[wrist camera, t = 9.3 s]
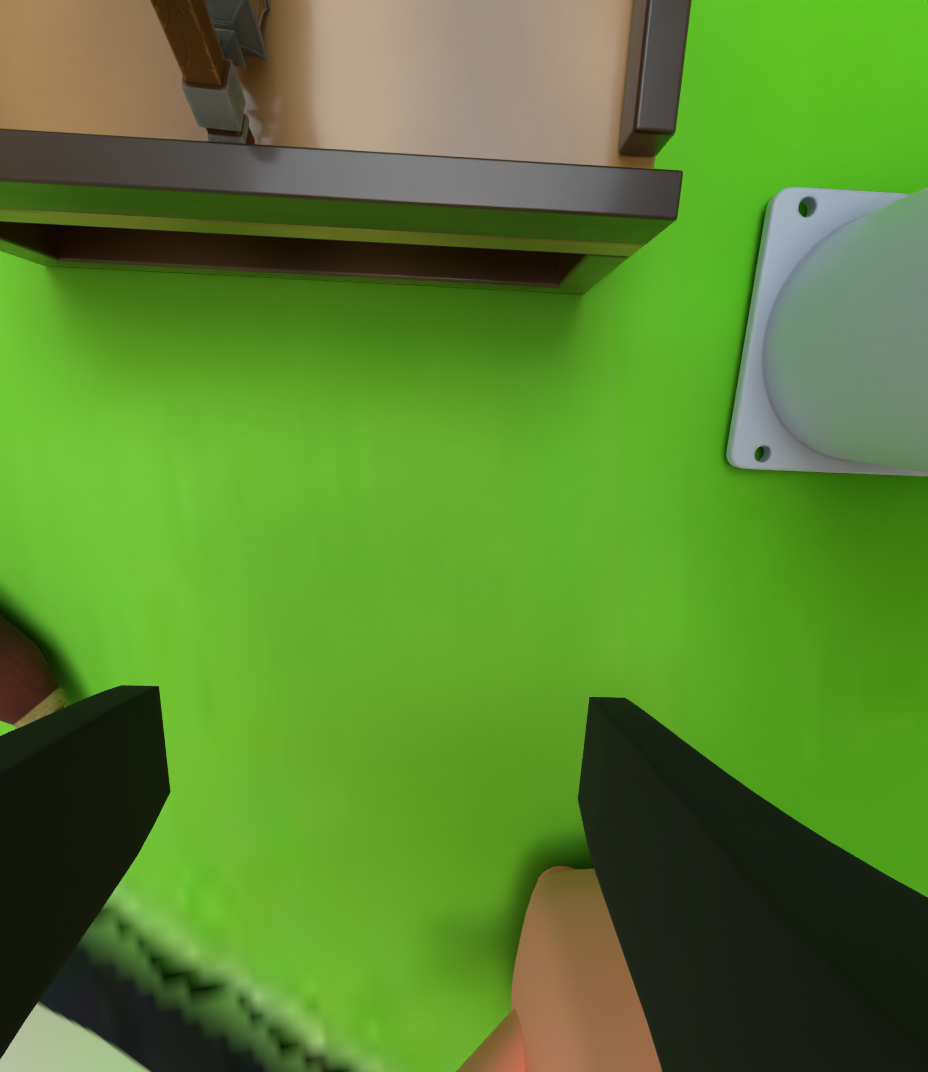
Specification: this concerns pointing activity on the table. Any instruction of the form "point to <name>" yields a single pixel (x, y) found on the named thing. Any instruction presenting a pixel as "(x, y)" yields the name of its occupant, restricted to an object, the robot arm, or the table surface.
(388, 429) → the table surface
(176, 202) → the shallow wooden tray
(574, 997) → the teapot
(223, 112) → the wooden post with brackets
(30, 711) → the gavel
